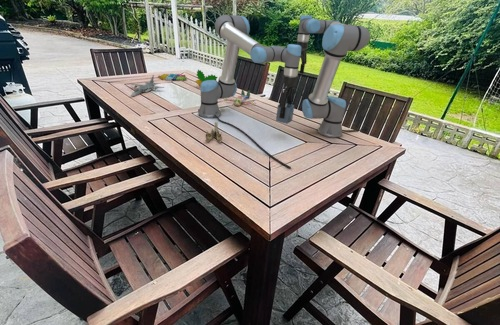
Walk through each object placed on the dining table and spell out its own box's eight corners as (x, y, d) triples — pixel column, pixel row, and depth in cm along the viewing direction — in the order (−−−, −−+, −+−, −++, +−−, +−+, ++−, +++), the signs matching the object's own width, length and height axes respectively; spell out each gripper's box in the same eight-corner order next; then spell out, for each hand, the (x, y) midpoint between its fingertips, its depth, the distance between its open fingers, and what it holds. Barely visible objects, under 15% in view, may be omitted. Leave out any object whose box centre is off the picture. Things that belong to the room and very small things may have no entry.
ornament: (212, 91, 261) (216, 76, 260) (214, 91, 254) (218, 75, 252) (192, 84, 253) (195, 69, 251) (193, 84, 245) (197, 68, 244)
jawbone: (224, 125, 157) (223, 115, 148) (222, 147, 150) (221, 138, 141) (208, 125, 157) (206, 115, 148) (206, 147, 150) (204, 138, 141)
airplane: (124, 86, 238) (122, 75, 233) (160, 84, 251) (158, 74, 246) (129, 99, 209) (126, 86, 204) (168, 96, 223) (167, 84, 217)
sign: (185, 79, 272) (155, 78, 269) (185, 81, 272) (155, 79, 270) (188, 74, 294) (161, 73, 291) (188, 76, 294) (161, 74, 292)
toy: (261, 91, 228) (254, 99, 202) (261, 99, 231) (253, 108, 205) (231, 87, 233) (220, 95, 207) (230, 95, 236) (219, 104, 210)
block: (281, 117, 158) (283, 102, 153) (292, 120, 155) (294, 105, 150) (275, 120, 153) (277, 105, 148) (287, 124, 150) (289, 108, 145)
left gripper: (291, 72, 150) (286, 110, 161) (275, 77, 135) (271, 119, 146) (303, 74, 147) (297, 113, 158) (289, 79, 132) (283, 122, 143)
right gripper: (304, 40, 185) (299, 71, 195) (289, 41, 166) (285, 76, 176) (314, 41, 182) (309, 73, 192) (300, 42, 163) (295, 77, 173)
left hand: (284, 116), depth 152 cm, fingers closed on block, 7 cm apart
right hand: (297, 74), depth 184 cm, fingers open, 13 cm apart
